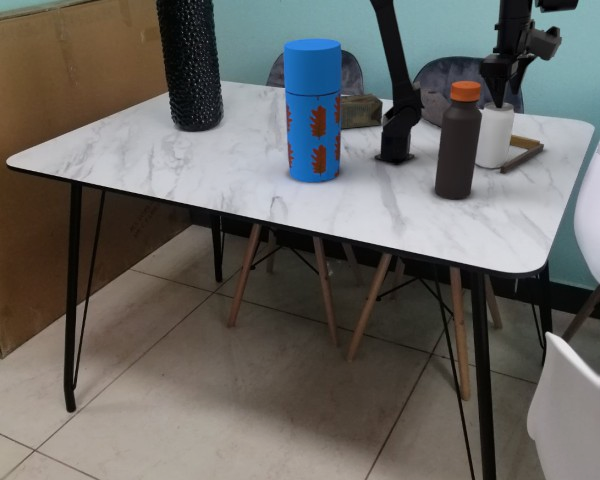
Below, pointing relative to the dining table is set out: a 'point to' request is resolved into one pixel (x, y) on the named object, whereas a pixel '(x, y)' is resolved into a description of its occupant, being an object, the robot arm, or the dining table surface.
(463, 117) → the bottle
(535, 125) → the dining table surface
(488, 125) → the can
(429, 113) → the perforated stone tool
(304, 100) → the thermos
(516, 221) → the dining table surface
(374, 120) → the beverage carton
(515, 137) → the brown wooden bent bar
